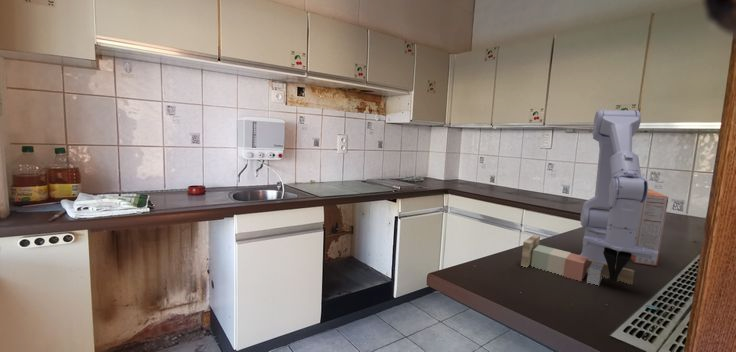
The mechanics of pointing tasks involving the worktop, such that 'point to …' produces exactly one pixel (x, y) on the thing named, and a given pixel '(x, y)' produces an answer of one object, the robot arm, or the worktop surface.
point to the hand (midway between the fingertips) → (613, 279)
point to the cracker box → (650, 225)
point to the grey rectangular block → (595, 273)
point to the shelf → (623, 276)
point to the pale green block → (541, 257)
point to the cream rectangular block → (557, 261)
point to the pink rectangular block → (575, 266)
